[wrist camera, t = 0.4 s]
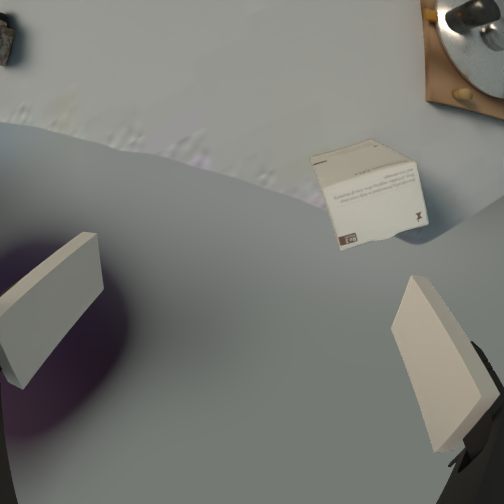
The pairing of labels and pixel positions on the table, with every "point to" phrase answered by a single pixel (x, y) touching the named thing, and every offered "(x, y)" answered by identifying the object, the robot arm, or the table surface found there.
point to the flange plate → (473, 40)
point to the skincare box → (370, 193)
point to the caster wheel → (5, 39)
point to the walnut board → (452, 78)
